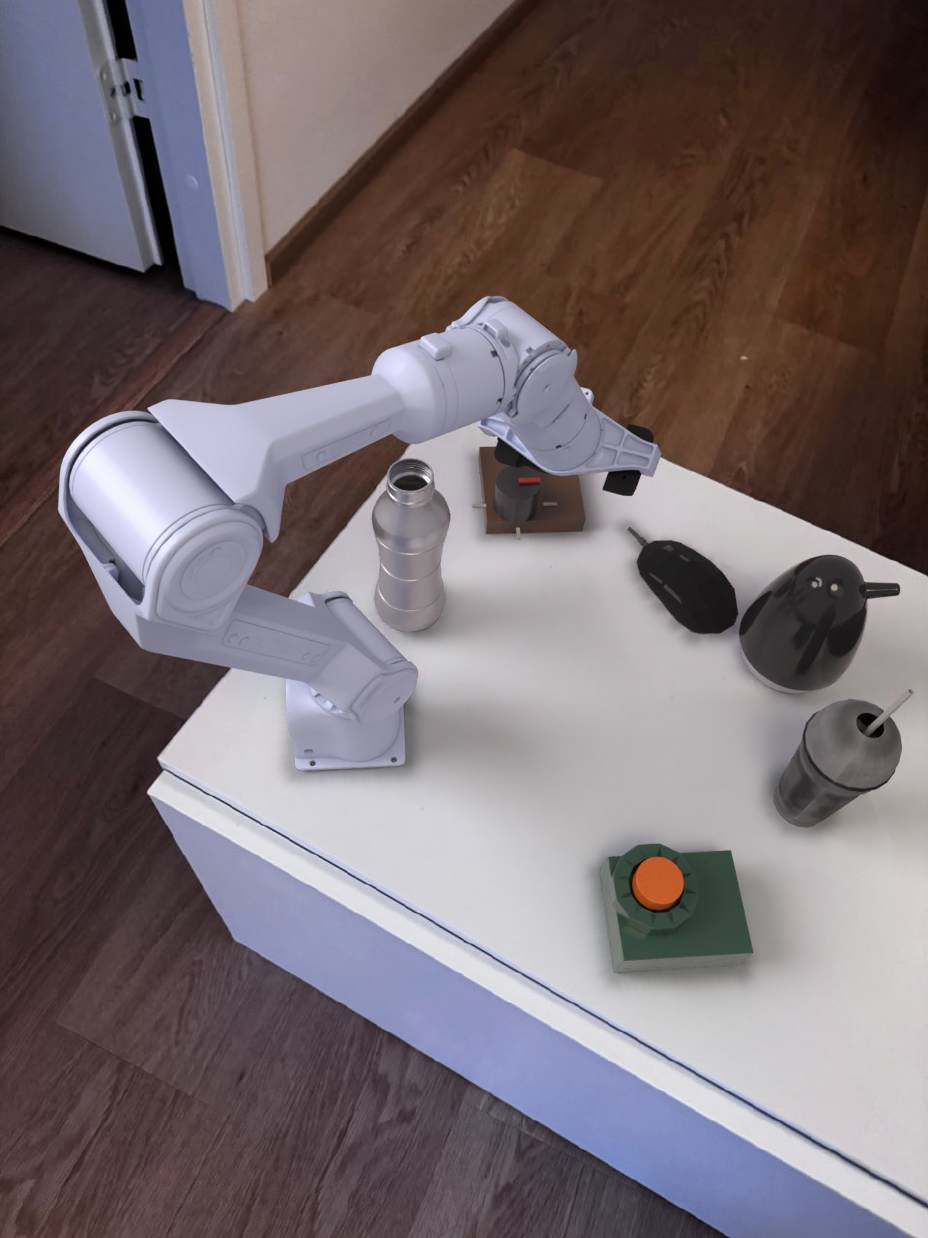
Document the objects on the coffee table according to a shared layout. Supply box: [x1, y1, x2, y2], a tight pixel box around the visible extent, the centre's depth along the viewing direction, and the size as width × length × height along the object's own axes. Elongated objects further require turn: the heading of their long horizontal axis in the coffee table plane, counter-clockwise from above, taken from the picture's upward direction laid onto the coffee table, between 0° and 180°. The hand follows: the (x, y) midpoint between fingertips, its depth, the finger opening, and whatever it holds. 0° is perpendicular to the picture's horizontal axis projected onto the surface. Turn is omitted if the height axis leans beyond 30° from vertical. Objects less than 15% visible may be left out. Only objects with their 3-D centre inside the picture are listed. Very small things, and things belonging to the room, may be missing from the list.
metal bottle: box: [371, 457, 451, 633], centre depth 85 cm, size 6×7×20 cm
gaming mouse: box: [627, 526, 739, 635], centre depth 95 cm, size 6×15×4 cm, turn 34°
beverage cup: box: [773, 687, 915, 828], centre depth 76 cm, size 7×7×20 cm
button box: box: [599, 843, 754, 974], centre depth 76 cm, size 10×8×6 cm
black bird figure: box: [738, 554, 901, 694], centre depth 85 cm, size 10×10×15 cm
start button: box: [632, 857, 684, 910], centre depth 73 cm, size 4×4×2 cm
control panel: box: [472, 445, 587, 541], centre depth 100 cm, size 11×12×2 cm
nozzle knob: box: [493, 466, 541, 522], centre depth 96 cm, size 4×4×4 cm
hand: (590, 473), depth 83 cm, fingers open, 7 cm apart
